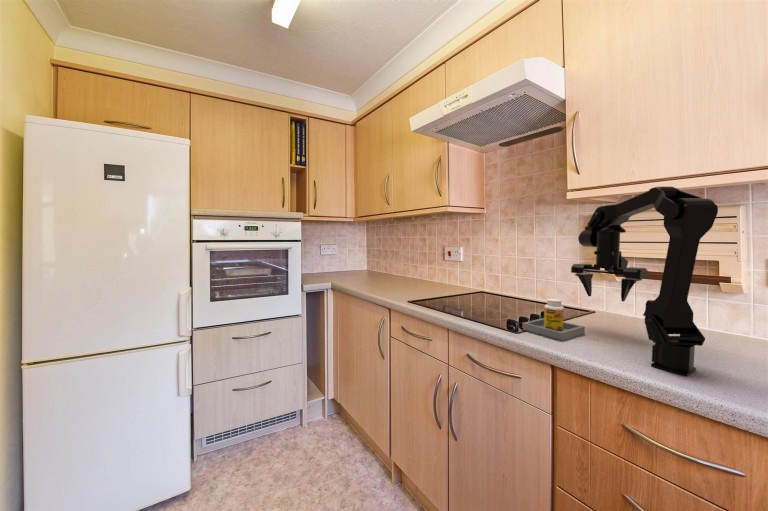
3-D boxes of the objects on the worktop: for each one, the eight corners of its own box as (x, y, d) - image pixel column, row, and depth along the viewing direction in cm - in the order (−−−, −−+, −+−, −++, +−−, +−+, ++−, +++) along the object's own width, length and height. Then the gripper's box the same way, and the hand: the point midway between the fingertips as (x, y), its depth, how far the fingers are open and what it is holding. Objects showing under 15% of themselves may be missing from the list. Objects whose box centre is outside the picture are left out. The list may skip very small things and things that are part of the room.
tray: (584, 334, 100) (584, 326, 100) (561, 341, 94) (561, 333, 93) (545, 324, 111) (545, 317, 111) (522, 330, 105) (522, 322, 105)
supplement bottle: (543, 331, 101) (544, 300, 101) (544, 327, 106) (544, 297, 105) (563, 334, 99) (564, 302, 98) (563, 329, 103) (564, 299, 103)
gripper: (657, 248, 92) (654, 301, 93) (588, 246, 108) (587, 291, 109) (640, 249, 86) (637, 305, 87) (570, 247, 102) (569, 294, 103)
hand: (605, 298), depth 97 cm, fingers open, 9 cm apart
